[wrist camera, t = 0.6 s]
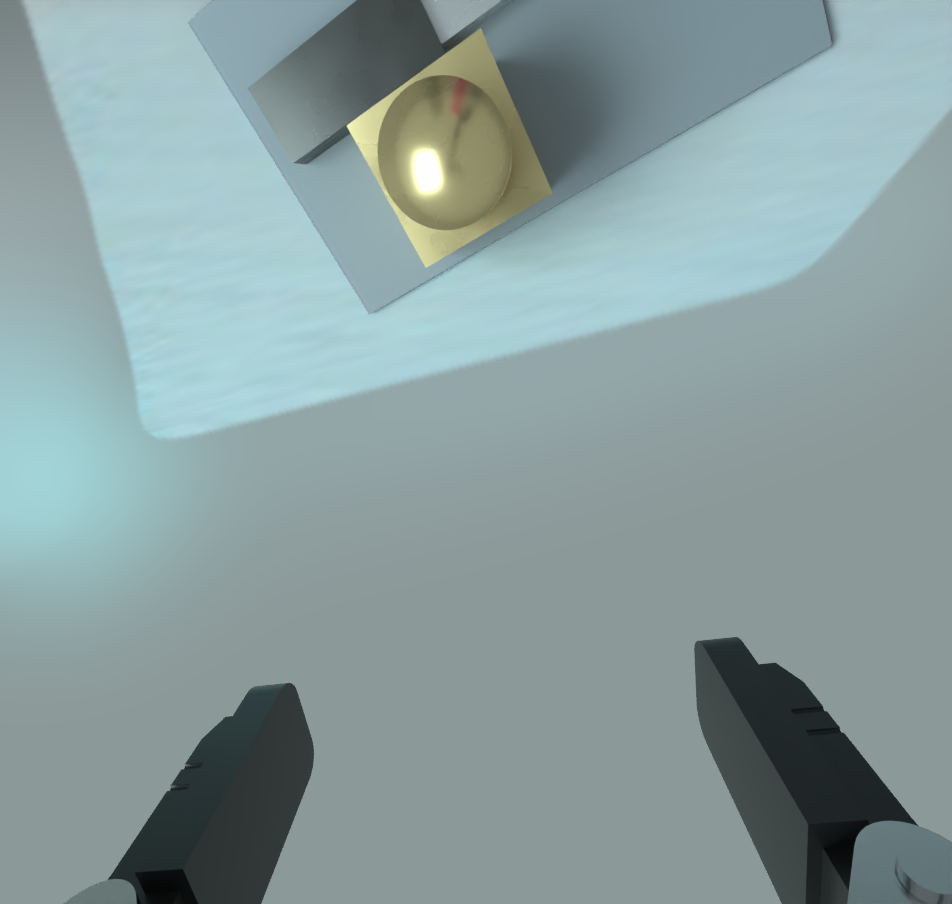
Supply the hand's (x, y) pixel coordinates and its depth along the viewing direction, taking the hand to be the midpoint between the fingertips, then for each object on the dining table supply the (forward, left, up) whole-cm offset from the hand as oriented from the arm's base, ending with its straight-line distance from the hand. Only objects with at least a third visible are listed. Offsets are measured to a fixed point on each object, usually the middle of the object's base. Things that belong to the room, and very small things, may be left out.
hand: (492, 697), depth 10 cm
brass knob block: (-10, +2, -24) cm, 26 cm away
